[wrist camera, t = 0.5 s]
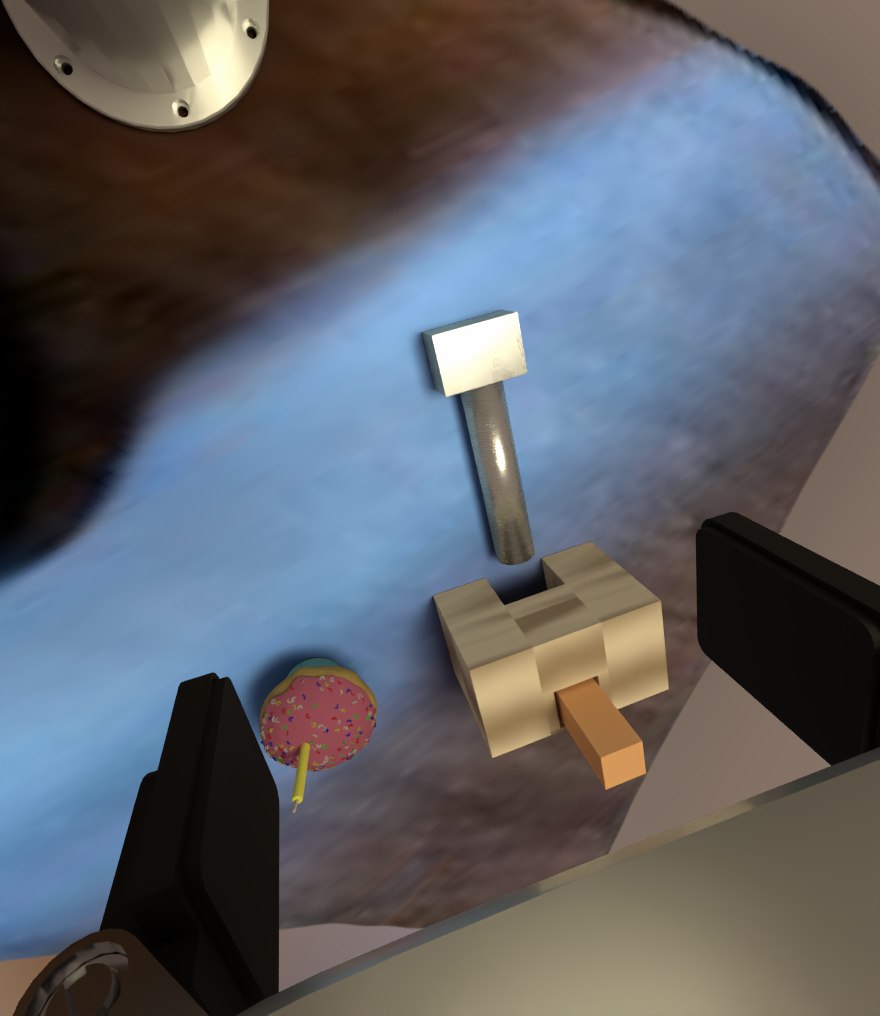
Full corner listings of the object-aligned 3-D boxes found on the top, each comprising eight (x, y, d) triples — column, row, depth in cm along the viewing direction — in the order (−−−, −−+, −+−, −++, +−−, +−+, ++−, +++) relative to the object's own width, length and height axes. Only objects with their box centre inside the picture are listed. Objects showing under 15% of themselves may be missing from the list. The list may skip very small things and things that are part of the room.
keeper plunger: (552, 685, 42) (600, 757, 35) (587, 671, 42) (642, 741, 36) (557, 714, 43) (605, 789, 36) (592, 700, 43) (645, 773, 37)
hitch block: (433, 595, 47) (469, 670, 38) (590, 541, 49) (660, 600, 40) (454, 671, 50) (492, 757, 41) (601, 618, 52) (668, 689, 43)
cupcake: (281, 737, 48) (281, 869, 38) (244, 657, 45) (232, 777, 34) (380, 701, 50) (408, 819, 39) (352, 620, 46) (374, 725, 35)
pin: (421, 331, 40) (431, 335, 37) (501, 309, 40) (517, 312, 38) (475, 558, 47) (487, 575, 44) (541, 535, 48) (557, 551, 45)
